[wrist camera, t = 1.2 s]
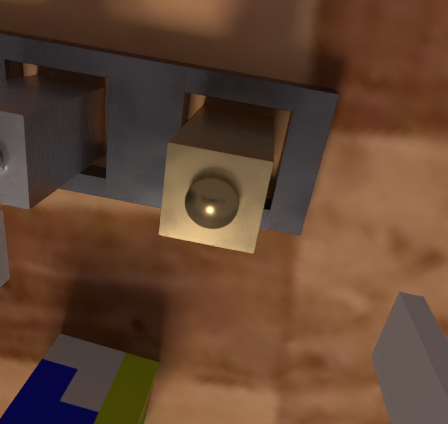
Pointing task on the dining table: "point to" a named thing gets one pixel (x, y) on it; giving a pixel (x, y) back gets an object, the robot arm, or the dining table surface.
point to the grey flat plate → (179, 120)
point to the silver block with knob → (47, 135)
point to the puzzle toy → (84, 386)
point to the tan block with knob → (218, 178)
